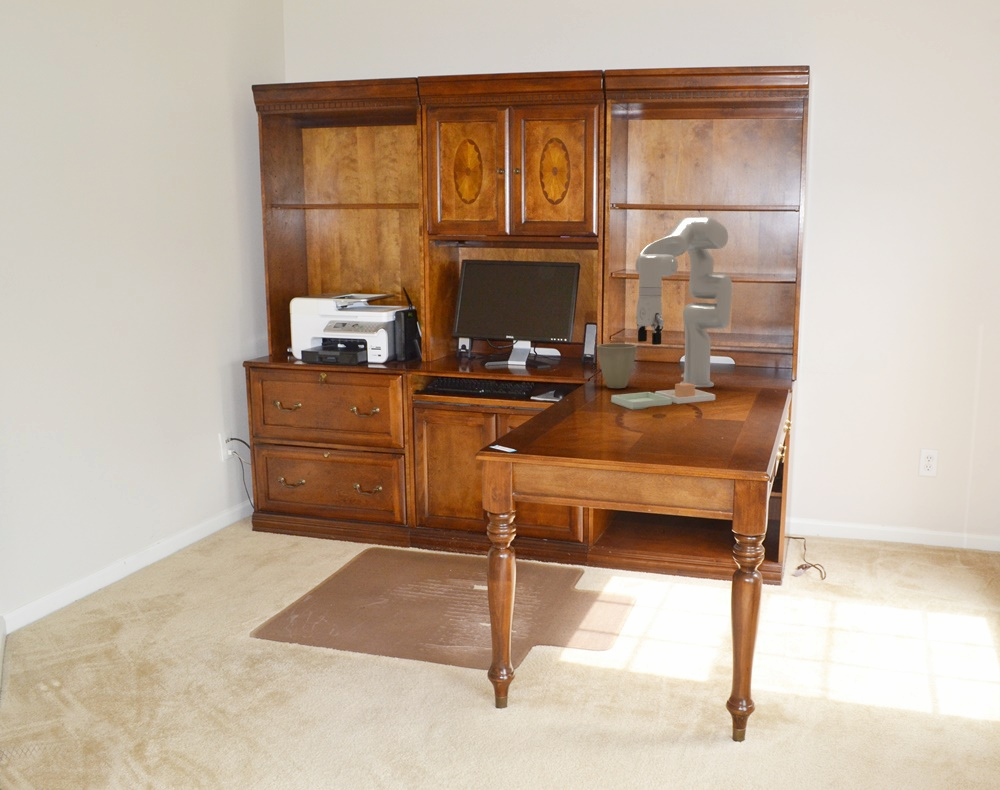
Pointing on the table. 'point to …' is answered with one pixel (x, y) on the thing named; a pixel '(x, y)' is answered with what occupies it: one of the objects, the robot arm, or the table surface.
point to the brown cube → (684, 390)
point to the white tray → (698, 397)
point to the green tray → (640, 400)
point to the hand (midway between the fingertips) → (649, 343)
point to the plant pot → (616, 363)
